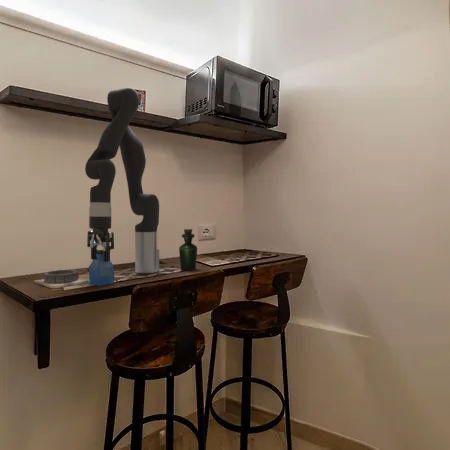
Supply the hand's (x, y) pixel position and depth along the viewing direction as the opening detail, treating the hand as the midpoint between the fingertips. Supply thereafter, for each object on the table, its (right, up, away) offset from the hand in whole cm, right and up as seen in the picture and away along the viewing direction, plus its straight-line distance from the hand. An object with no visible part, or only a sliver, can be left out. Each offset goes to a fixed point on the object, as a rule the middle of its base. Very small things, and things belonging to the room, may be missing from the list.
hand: (100, 260), depth 128 cm
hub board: (-15, -8, +2) cm, 17 cm away
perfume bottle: (0, -9, +1) cm, 9 cm away
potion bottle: (+29, -7, +30) cm, 42 cm away
